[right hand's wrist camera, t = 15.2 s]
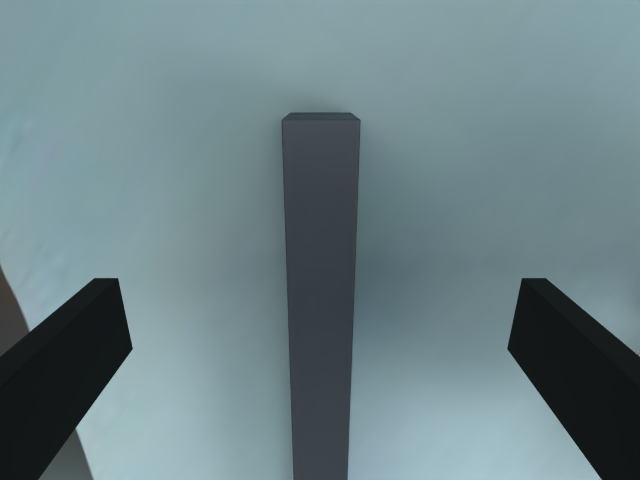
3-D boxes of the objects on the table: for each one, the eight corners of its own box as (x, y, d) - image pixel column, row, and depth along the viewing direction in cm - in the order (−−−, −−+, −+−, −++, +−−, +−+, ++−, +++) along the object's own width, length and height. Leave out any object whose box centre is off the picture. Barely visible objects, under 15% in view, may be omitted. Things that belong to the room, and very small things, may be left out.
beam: (290, 112, 31) (281, 119, 24) (351, 112, 31) (360, 119, 24) (303, 625, 57) (301, 701, 50) (336, 625, 57) (339, 701, 50)
